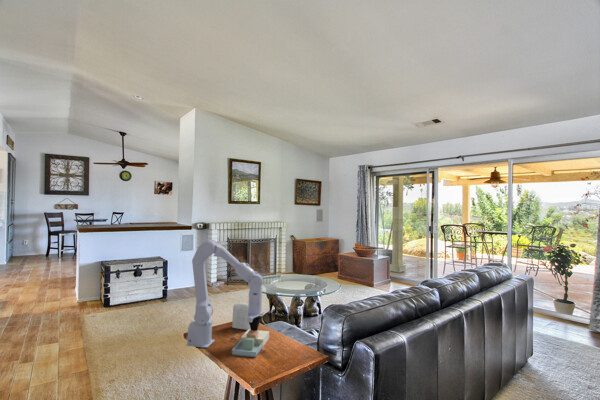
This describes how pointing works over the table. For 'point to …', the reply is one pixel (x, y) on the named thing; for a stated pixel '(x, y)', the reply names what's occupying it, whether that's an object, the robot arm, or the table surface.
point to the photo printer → (240, 316)
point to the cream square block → (262, 337)
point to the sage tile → (248, 343)
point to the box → (240, 351)
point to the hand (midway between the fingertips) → (254, 333)
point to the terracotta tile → (252, 334)
